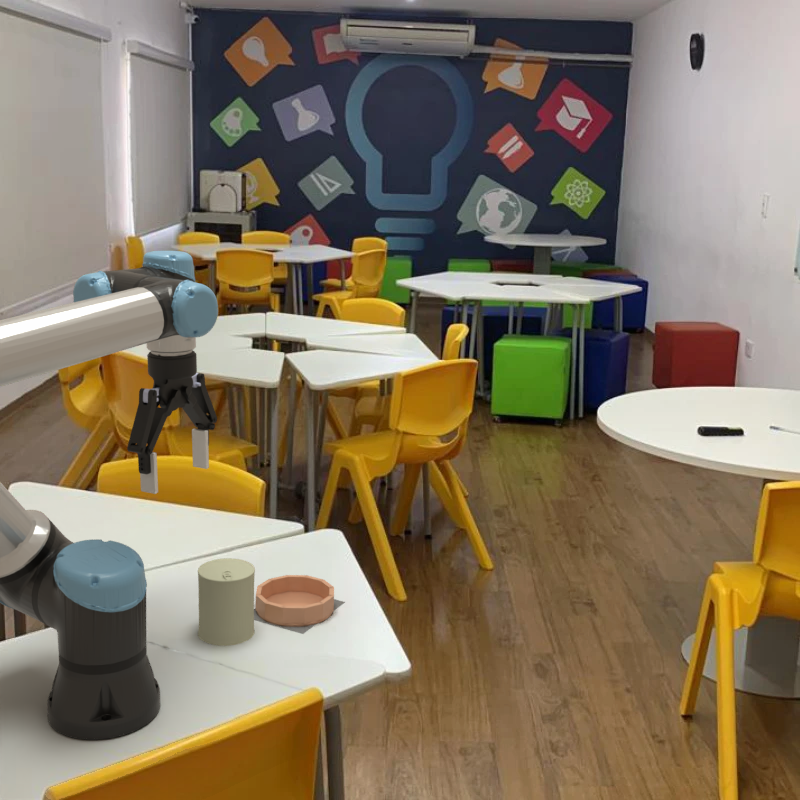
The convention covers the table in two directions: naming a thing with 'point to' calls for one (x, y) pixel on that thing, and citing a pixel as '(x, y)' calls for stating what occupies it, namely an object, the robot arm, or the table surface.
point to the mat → (296, 629)
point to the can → (226, 601)
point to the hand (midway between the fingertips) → (176, 479)
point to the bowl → (295, 600)
